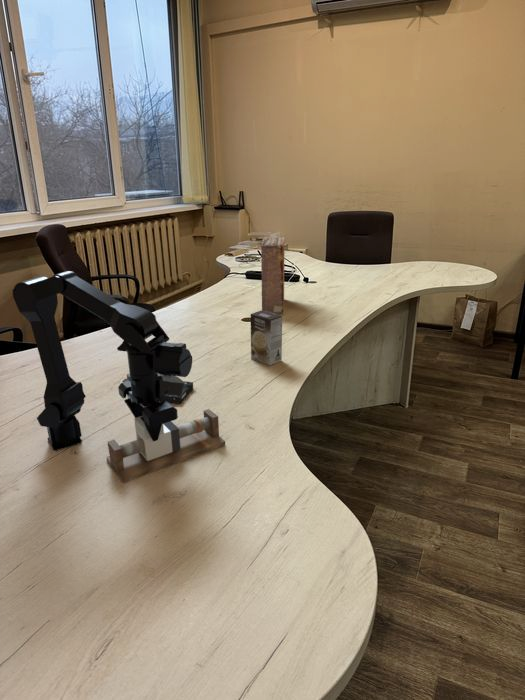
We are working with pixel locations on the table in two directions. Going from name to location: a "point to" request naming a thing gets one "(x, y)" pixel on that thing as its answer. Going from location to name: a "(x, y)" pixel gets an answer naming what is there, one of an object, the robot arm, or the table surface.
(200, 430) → the pipe rig
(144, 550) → the table surface
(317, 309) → the table surface
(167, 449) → the sleeve
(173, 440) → the dark square collar
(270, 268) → the book
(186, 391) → the disk drive
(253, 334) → the coffee box
